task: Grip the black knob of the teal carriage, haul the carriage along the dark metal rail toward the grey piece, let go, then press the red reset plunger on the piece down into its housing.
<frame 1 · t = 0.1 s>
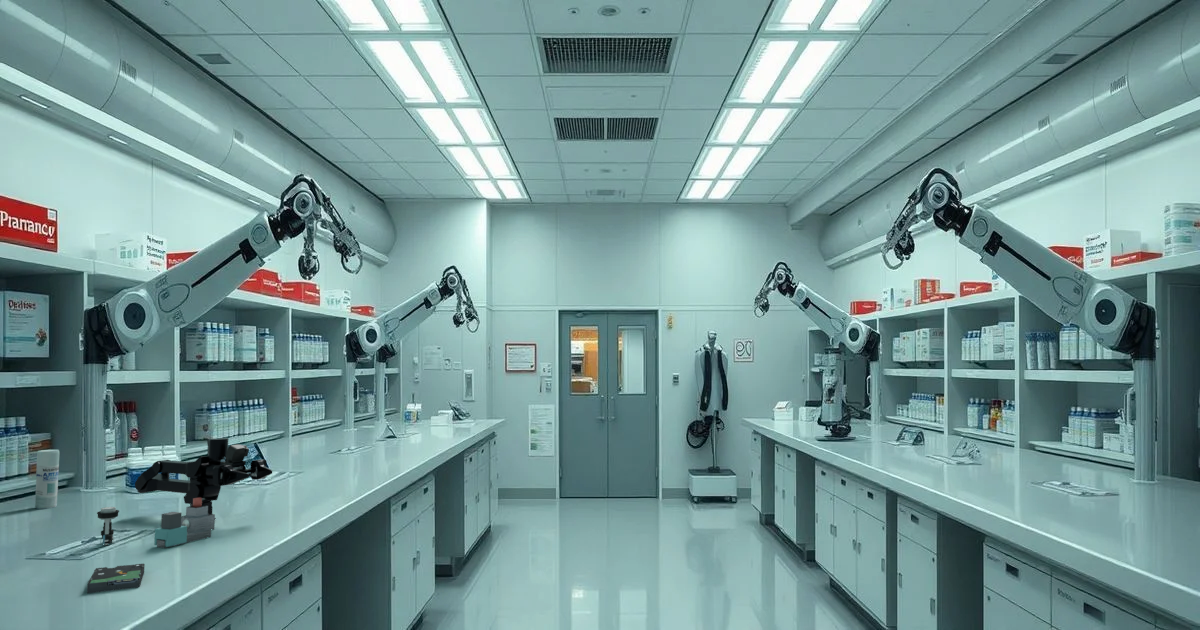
hand: (260, 473, 238), 17 cm above the table, tool horizontal, fingers open, 9 cm apart
grey piece: (196, 530, 233), on the table
reset plunger: (197, 502, 233), point 9 cm above the table, slide at 0.0 cm
carriage: (171, 528, 214), point 5 cm above the table, slide at 0.0 cm
rail: (184, 541, 218), on the table
disk drive: (116, 585, 178), on the table
spray paint can: (45, 507, 271), on the table
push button: (106, 544, 215), on the table
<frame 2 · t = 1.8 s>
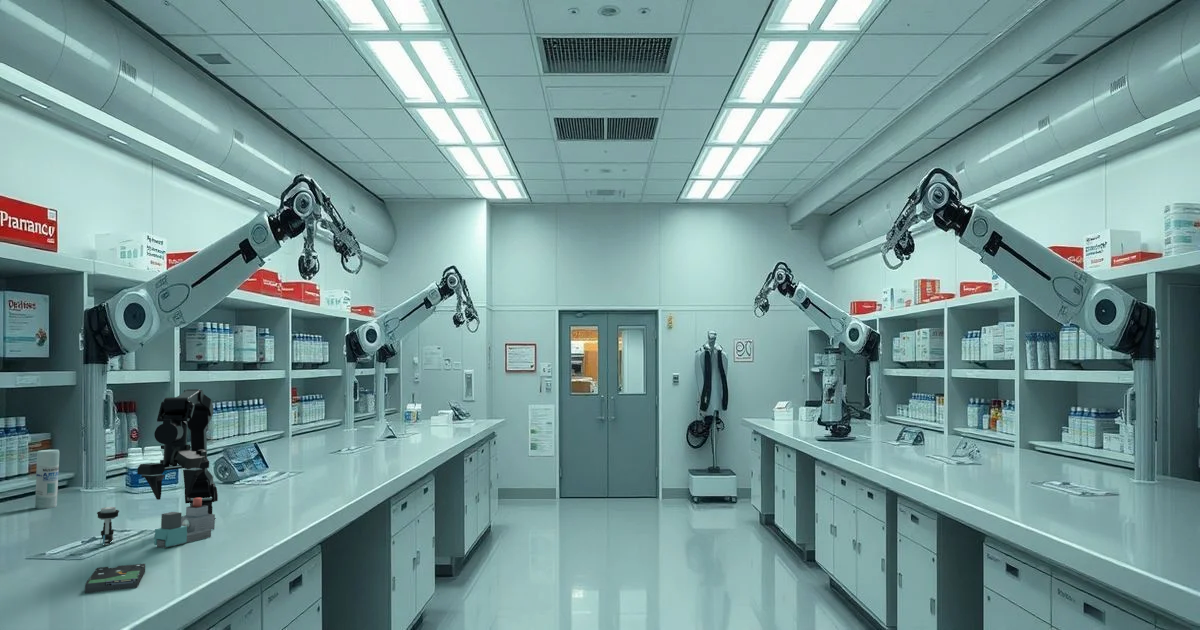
hand: (173, 497, 214), 13 cm above the table, tool pointing down, fingers open, 9 cm apart
nothing on the table moved.
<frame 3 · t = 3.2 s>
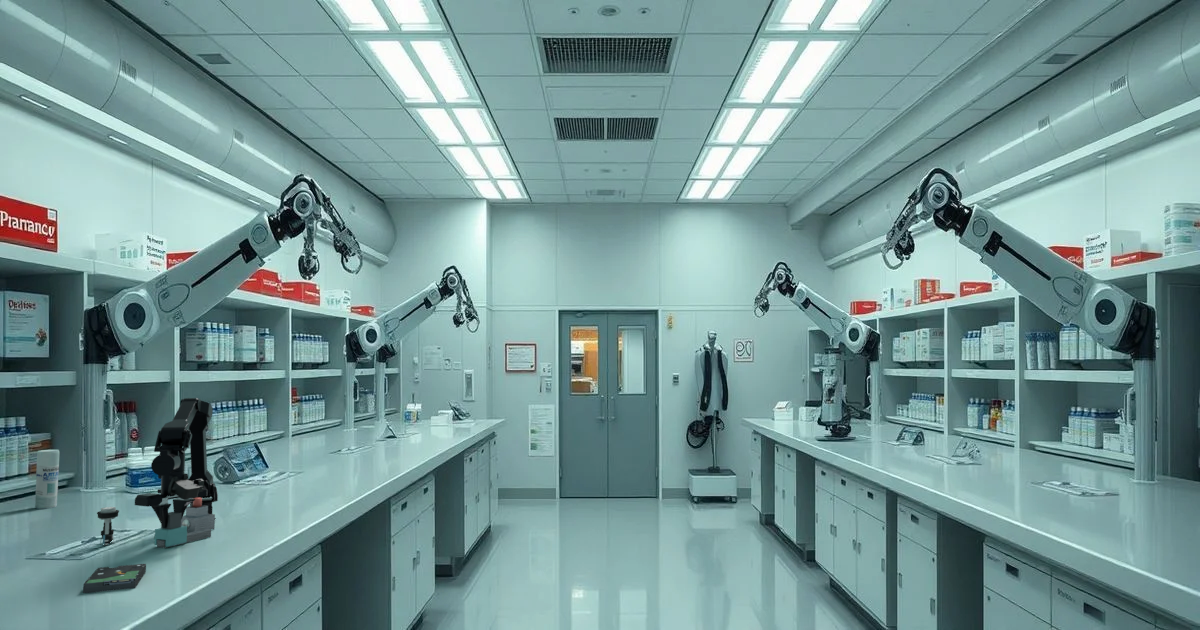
hand: (171, 526, 214), 5 cm above the table, tool pointing down, fingers closed on carriage, 3 cm apart
carriage: (171, 528, 214), point 5 cm above the table, slide at 0.0 cm, touching gripper
everything else where it was.
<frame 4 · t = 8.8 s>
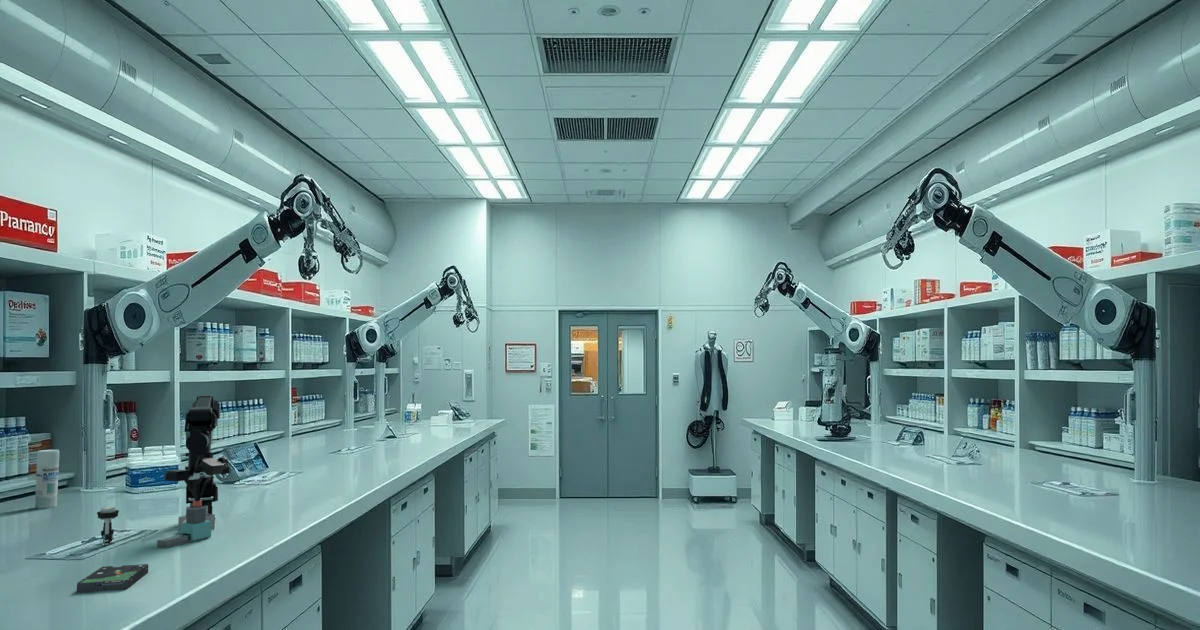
hand: (197, 500, 233), 9 cm above the table, tool pointing down, fingers closed, pressing on reset plunger
reset plunger: (197, 504, 233), point 8 cm above the table, slide at 0.8 cm, touching gripper
carriage: (195, 523, 221), point 5 cm above the table, slide at 7.9 cm
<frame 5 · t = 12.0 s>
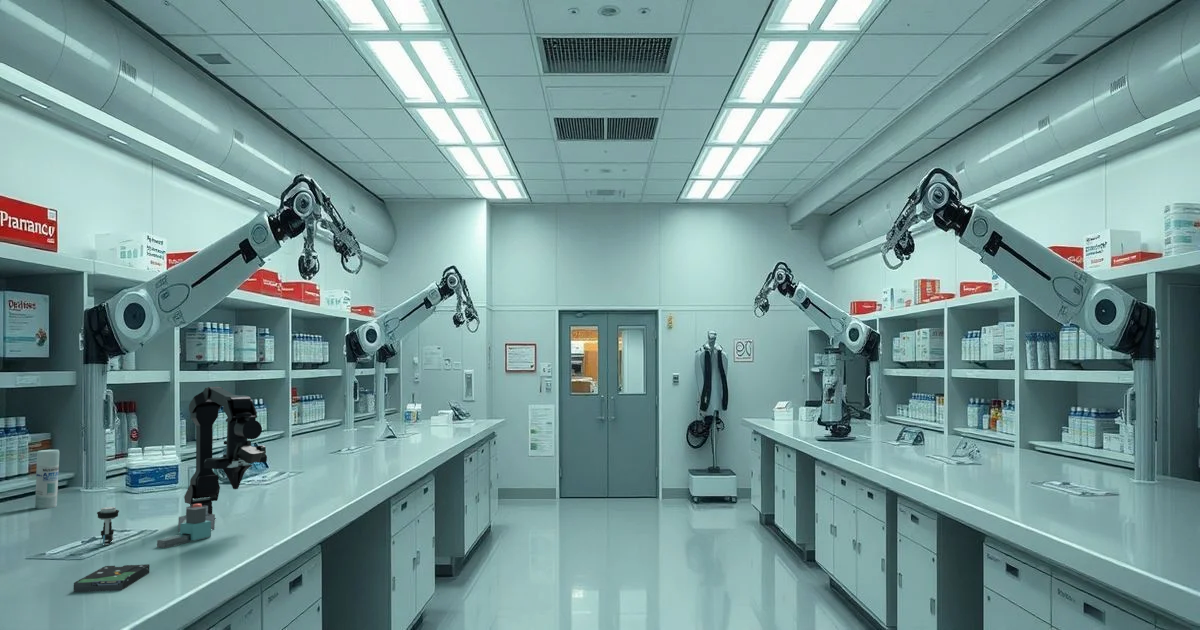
hand: (235, 489, 231), 13 cm above the table, tool pointing down, fingers closed
reset plunger: (197, 508, 233), point 7 cm above the table, slide at 1.8 cm
at the end: carriage slide at 7.9 cm; reset plunger slide at 1.8 cm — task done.
